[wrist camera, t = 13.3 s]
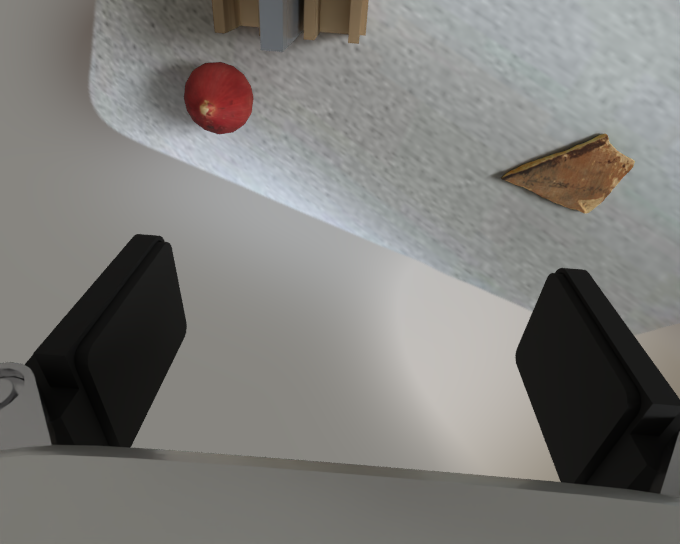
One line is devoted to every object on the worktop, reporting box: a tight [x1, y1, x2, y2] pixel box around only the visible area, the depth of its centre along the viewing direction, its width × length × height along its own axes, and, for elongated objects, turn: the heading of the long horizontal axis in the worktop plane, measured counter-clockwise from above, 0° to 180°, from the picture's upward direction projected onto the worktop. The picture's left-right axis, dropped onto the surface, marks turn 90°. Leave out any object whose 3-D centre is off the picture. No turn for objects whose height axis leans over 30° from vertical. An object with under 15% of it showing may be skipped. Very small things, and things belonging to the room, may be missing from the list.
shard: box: [501, 134, 635, 213], centre depth 43 cm, size 11×8×2 cm
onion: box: [184, 62, 253, 134], centre depth 38 cm, size 6×6×8 cm
